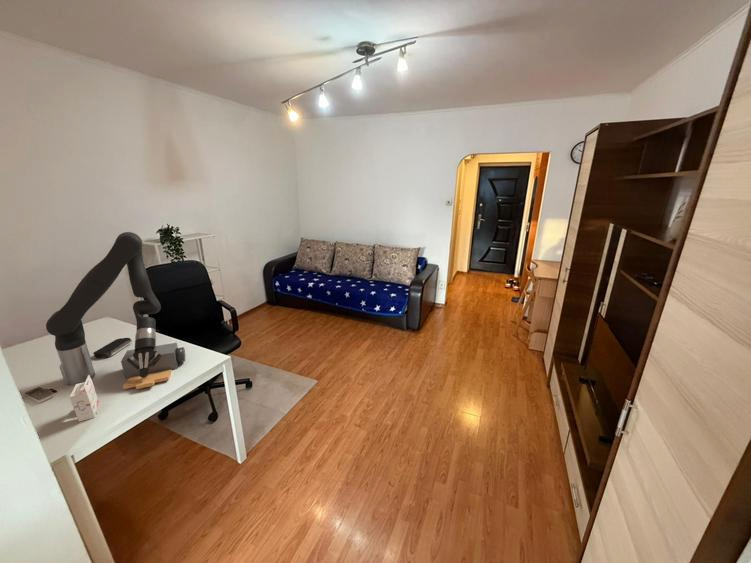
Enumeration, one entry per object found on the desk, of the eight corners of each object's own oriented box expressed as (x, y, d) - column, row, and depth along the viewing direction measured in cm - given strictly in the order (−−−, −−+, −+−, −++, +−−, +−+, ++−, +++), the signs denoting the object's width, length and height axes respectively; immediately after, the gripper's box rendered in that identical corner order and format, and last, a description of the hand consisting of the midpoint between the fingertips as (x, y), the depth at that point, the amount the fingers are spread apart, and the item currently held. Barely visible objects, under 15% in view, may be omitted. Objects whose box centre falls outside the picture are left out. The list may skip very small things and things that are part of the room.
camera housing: (125, 380, 135) (120, 361, 131) (131, 368, 143) (127, 350, 140) (184, 369, 144) (181, 351, 141) (186, 358, 153) (183, 341, 150)
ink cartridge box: (83, 408, 117) (73, 377, 113) (99, 404, 120) (90, 373, 115) (77, 422, 111) (66, 390, 106) (95, 417, 113) (85, 385, 109)
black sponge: (109, 359, 150) (107, 353, 149) (92, 358, 150) (90, 352, 149) (134, 343, 165) (132, 337, 164) (119, 342, 165) (117, 336, 164)
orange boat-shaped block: (130, 380, 134) (121, 392, 123) (129, 377, 134) (120, 388, 123) (172, 372, 141) (166, 382, 130) (171, 369, 141) (166, 379, 130)
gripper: (124, 339, 129) (121, 379, 123) (160, 334, 135) (160, 372, 128) (130, 344, 135) (127, 382, 129) (164, 339, 141) (164, 375, 134)
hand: (144, 377), depth 128 cm, fingers closed
